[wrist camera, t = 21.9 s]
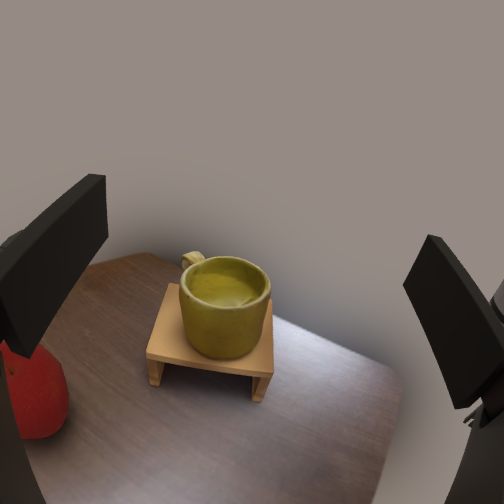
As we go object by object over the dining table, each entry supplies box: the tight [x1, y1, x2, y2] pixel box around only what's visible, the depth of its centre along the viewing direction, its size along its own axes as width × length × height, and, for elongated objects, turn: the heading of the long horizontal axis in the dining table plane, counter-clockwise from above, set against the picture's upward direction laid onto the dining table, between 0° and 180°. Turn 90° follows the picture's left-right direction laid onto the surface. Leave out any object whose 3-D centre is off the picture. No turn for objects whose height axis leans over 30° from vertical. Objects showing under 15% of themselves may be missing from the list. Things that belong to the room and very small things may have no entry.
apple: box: [0, 342, 69, 439], centre depth 23 cm, size 11×11×12 cm
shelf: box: [146, 283, 274, 402], centre depth 39 cm, size 14×12×7 cm
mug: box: [179, 251, 271, 359], centre depth 35 cm, size 12×10×10 cm
